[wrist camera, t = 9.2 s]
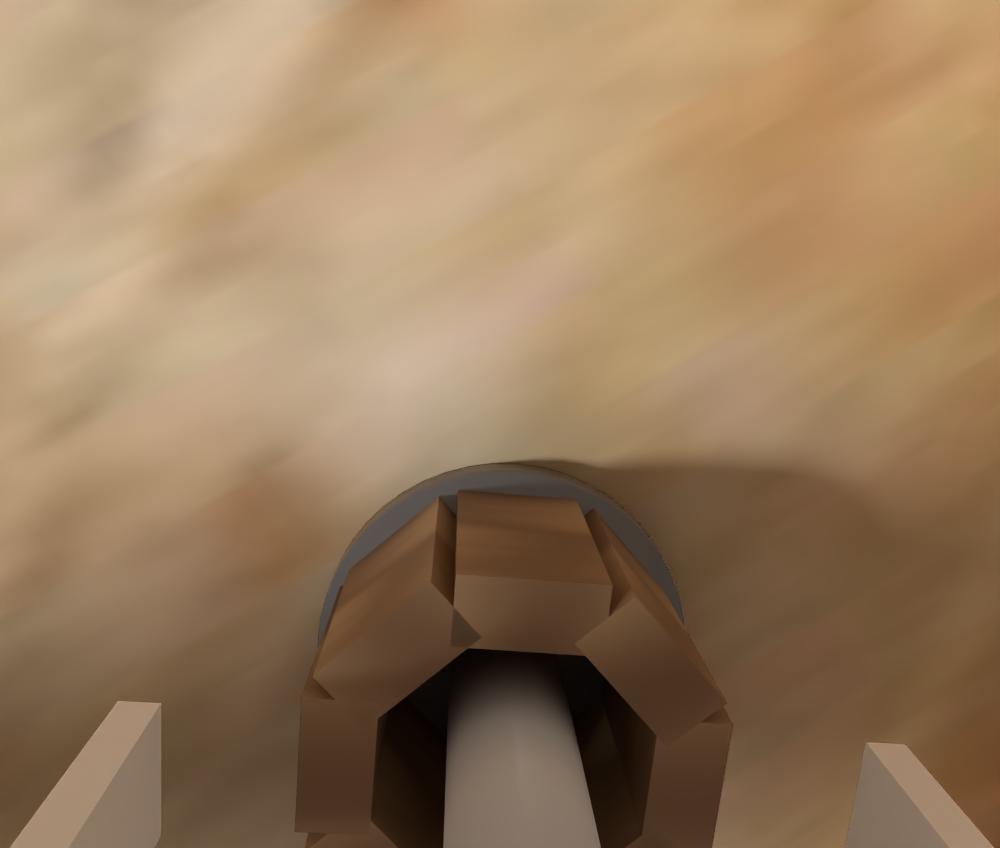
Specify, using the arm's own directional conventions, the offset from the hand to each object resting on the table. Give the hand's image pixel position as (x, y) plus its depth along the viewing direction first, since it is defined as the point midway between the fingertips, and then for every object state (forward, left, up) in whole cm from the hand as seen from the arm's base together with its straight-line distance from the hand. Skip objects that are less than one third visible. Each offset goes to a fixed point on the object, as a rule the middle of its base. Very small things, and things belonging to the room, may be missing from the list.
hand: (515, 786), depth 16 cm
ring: (0, 0, -5) cm, 5 cm away
